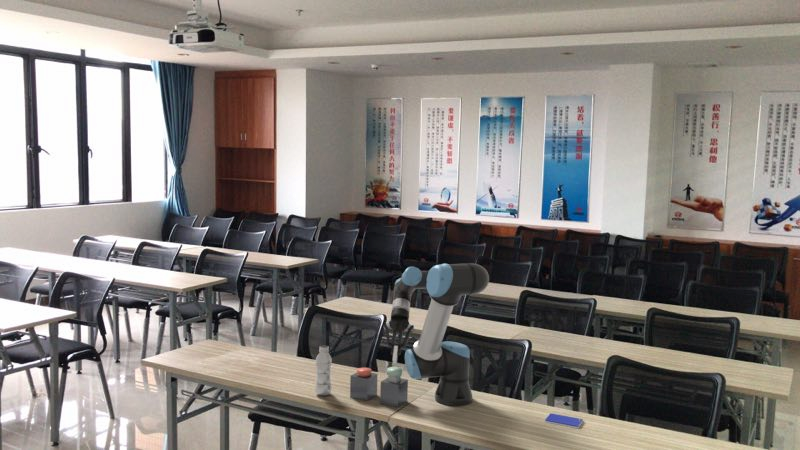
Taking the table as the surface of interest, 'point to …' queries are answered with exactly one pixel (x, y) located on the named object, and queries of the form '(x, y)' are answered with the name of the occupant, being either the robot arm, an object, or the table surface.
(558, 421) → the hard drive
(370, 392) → the red button post
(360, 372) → the red button
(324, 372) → the plastic bottle
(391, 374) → the green button
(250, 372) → the table surface
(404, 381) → the green button post
